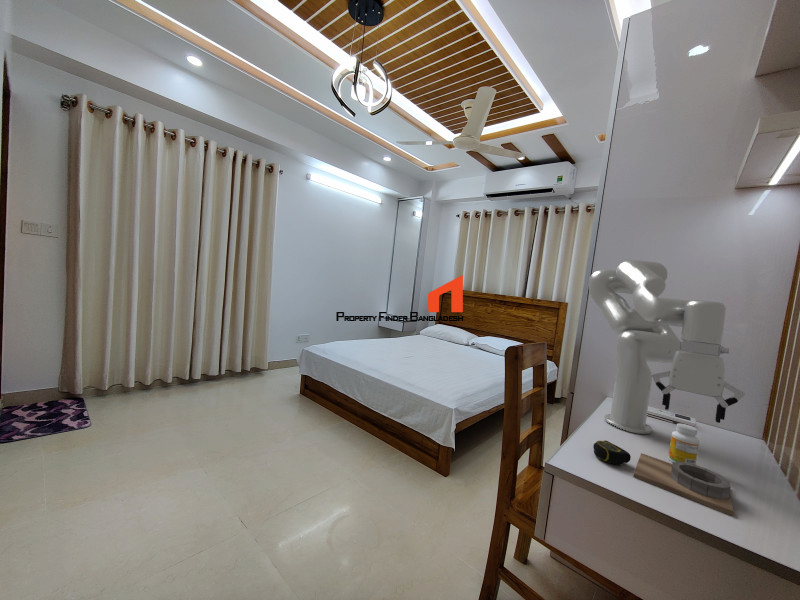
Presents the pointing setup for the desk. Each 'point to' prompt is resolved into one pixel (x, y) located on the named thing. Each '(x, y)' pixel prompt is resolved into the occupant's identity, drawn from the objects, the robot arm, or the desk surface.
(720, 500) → the holder
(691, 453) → the supplement bottle
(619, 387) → the robot arm
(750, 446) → the desk surface
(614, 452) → the tape measure
